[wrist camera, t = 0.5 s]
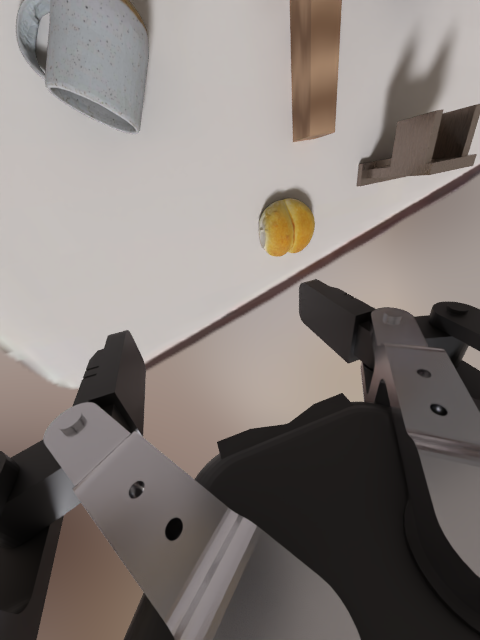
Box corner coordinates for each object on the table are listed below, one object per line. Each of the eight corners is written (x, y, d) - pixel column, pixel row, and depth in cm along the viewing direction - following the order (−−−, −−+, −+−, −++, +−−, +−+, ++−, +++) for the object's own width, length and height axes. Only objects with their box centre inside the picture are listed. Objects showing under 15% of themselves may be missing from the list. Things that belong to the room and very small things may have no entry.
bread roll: (307, 247, 40) (320, 252, 37) (259, 257, 39) (269, 264, 35) (309, 194, 36) (324, 194, 33) (255, 202, 34) (266, 203, 31)
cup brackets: (383, -86, 25) (519, -249, 15) (449, -82, 26) (606, -229, 17) (356, 186, 38) (421, 184, 29) (401, 176, 39) (476, 172, 30)
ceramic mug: (153, 49, 24) (150, -4, 18) (141, 141, 27) (135, 124, 21) (22, -27, 20) (-45, -133, 13) (26, 92, 23) (-27, 53, 16)
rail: (286, -85, 23) (312, -139, 19) (317, -84, 23) (348, -136, 20) (292, 142, 32) (310, 136, 28) (314, 138, 33) (334, 132, 29)
